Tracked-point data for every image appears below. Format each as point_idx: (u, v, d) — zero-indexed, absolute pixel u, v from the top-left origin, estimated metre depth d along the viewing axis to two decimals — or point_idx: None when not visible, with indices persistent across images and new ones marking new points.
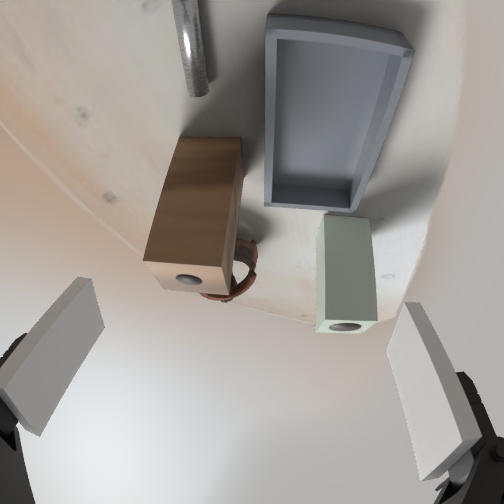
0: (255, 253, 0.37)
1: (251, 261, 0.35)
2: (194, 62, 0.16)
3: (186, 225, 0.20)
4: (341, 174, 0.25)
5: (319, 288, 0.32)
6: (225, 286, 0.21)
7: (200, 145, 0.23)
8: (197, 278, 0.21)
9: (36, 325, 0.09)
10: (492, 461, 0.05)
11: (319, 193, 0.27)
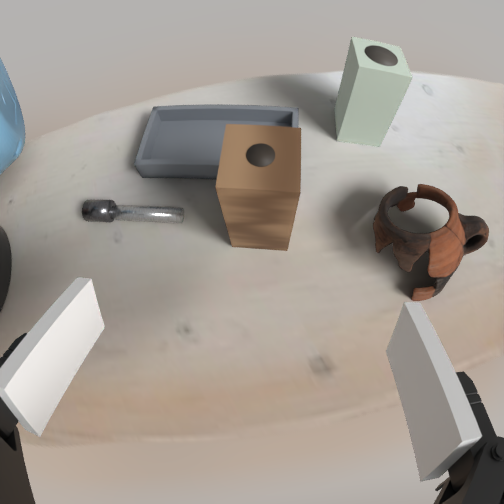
0: None
1: (393, 189, 0.26)
2: (153, 209, 0.29)
3: None
4: None
5: (380, 103, 0.26)
6: (274, 126, 0.20)
7: None
8: (256, 146, 0.19)
9: (36, 325, 0.09)
10: (492, 461, 0.05)
11: None
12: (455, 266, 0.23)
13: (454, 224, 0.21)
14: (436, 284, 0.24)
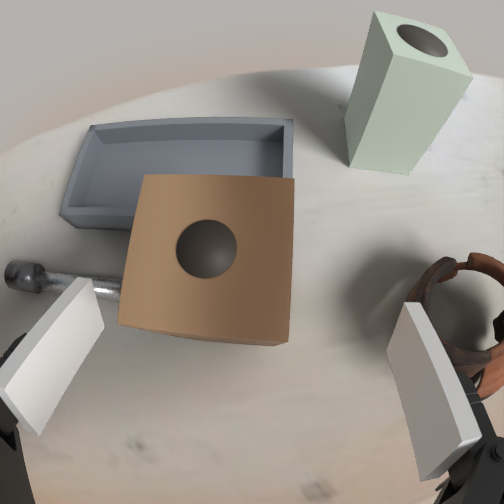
0: None
1: (435, 262, 0.16)
2: None
3: None
4: (254, 151, 0.22)
5: (420, 115, 0.16)
6: (238, 177, 0.10)
7: None
8: (197, 227, 0.09)
9: (36, 325, 0.09)
10: (492, 461, 0.05)
11: (282, 166, 0.21)
12: None
13: None
14: None
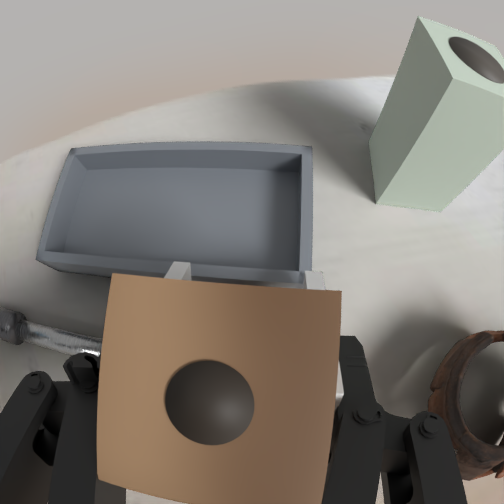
0: (474, 335, 0.14)
1: (472, 339, 0.13)
2: (68, 339, 0.16)
3: None
4: (264, 184, 0.19)
5: (468, 151, 0.12)
6: (254, 289, 0.06)
7: None
8: (195, 371, 0.06)
9: None
10: (357, 426, 0.07)
11: (298, 205, 0.18)
12: None
13: None
14: None
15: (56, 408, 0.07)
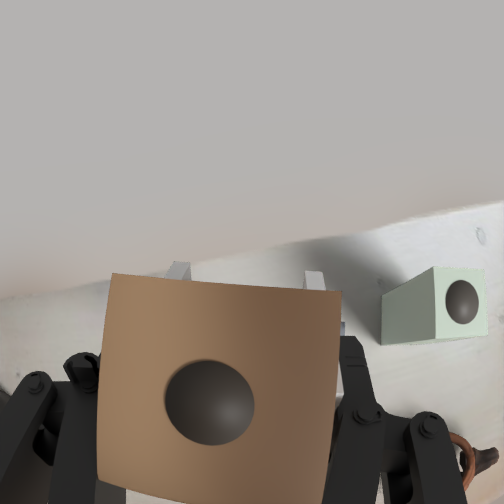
0: None
1: None
2: None
3: None
4: None
5: None
6: (254, 289, 0.06)
7: None
8: (195, 371, 0.06)
9: None
10: (357, 426, 0.07)
11: None
12: None
13: (466, 484, 0.17)
14: None
15: (56, 408, 0.07)
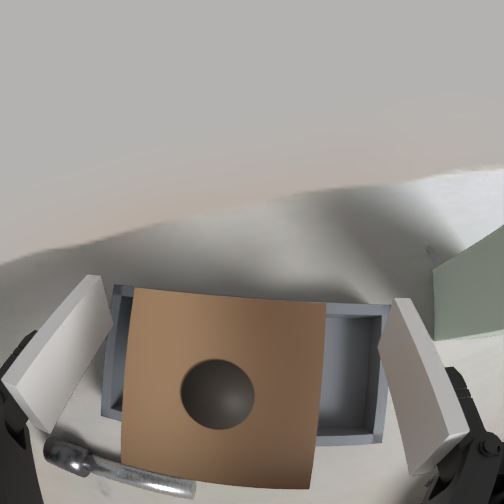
0: None
1: None
2: (149, 482, 0.15)
3: None
4: (338, 335, 0.18)
5: None
6: (254, 302, 0.08)
7: None
8: (206, 369, 0.07)
9: (47, 322, 0.09)
10: (480, 456, 0.05)
11: (371, 361, 0.17)
12: None
13: None
14: None
15: None
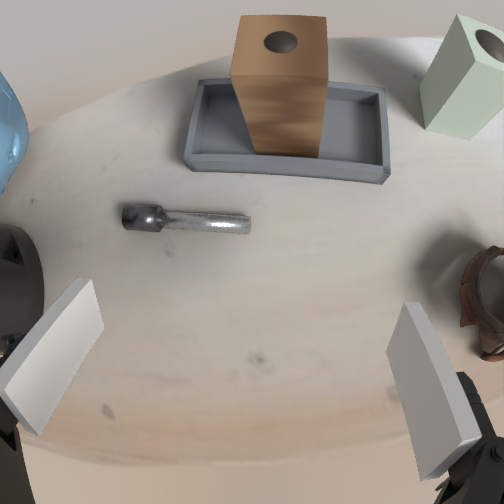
0: None
1: (486, 250, 0.19)
2: (213, 218, 0.24)
3: None
4: (352, 111, 0.24)
5: (486, 101, 0.17)
6: (295, 16, 0.14)
7: None
8: (275, 34, 0.14)
9: (36, 325, 0.09)
10: (492, 461, 0.05)
11: (377, 126, 0.23)
12: None
13: None
14: None
15: None
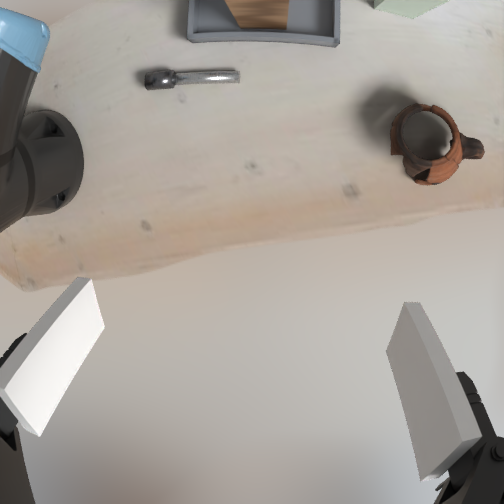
0: None
1: (411, 106, 0.28)
2: (213, 75, 0.30)
3: None
4: None
5: (421, 1, 0.19)
6: None
7: None
8: None
9: (36, 325, 0.09)
10: (492, 461, 0.05)
11: (332, 7, 0.25)
12: (449, 176, 0.29)
13: (453, 156, 0.26)
14: (433, 183, 0.31)
15: None
